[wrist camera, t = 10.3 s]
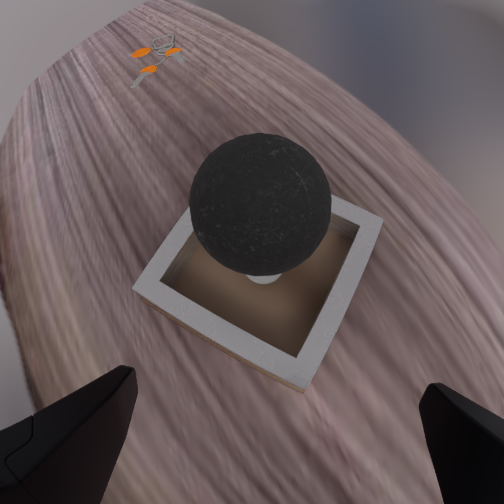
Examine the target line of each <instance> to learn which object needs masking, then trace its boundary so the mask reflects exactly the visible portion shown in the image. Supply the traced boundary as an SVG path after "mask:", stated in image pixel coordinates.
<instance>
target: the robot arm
mask: <svg viewBox="0 0 504 504" xmlns="http://www.w3.org/2000/svg"><path fill="white" fill-rule="evenodd" d="M137 395H138V386H137V378H136V371H135V369H134V368H133V367H129V366H125V365H120V366H118V367H116V368H115V369H113V370H111V371H109V372H108V373H106V374H104V375H103V376H101V377H99V378H97V379H96V380H94V381H92V382H90V383H89V384H87V385H85V386H83V387H82V388H80V389H78V390H76V391H75V392H73V393H71V394H69V395H67V396H66V397H64V398H62V399H60V400H58V401H57V402H55V403H53V404H51V405H49V406H48V407H46V408H44V409H42V410H40V411H39V412H37V413H35V414H34V415H33V416H32V415H31V416H29V417H27V418H25V419H24V420H22V421H20V422H18V423H16V424H14V425H12V426H10V427H8V428H5V429H3V430H0V504H100V503H101V500H102V498H103V495H104V492H105V490H106V487H107V484H108V482H109V479H110V477H111V474H112V472H113V469H114V466H115V464H116V461H117V459H118V456H119V454H120V451H121V449H122V446H123V444H124V441H125V438H126V435H127V432H128V428H129V424H130V421H131V417H132V413H133V409H134V406H135V402H136V399H137ZM419 411H420V416H421V420H422V424H423V429H424V433H425V438H426V443H427V447H428V450H429V453H430V456H431V460H432V463H433V466H434V469H435V473H436V476H437V480H438V483H439V487H440V490H441V494H442V498H443V502H444V504H504V419H502V418H501V417H499V416H497V415H495V414H494V413H492V412H490V411H489V410H487V409H485V408H483V407H482V406H480V405H478V404H476V403H475V402H473V401H471V400H470V399H468V398H466V397H464V396H463V395H461V394H459V393H458V392H456V391H454V390H452V389H451V388H449V387H447V386H446V385H444V384H442V383H431V384H429V385H428V387H427V388H426V390H425V392H424V394H423V396H422V398H421V400H420V403H419Z"/></svg>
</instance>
